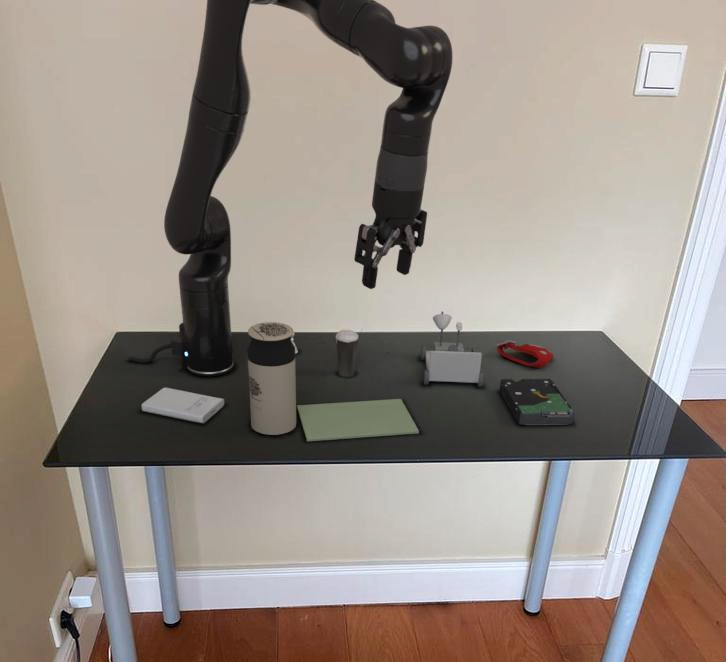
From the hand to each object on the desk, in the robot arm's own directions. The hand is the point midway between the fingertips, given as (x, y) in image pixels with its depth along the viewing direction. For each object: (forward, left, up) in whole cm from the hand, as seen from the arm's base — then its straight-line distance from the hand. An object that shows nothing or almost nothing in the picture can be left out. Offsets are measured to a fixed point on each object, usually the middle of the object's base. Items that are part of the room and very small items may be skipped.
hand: (385, 279), depth 124 cm
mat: (-4, -1, -26) cm, 26 cm away
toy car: (+7, +27, -26) cm, 39 cm away
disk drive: (+26, +16, -26) cm, 40 cm away
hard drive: (-35, -9, -26) cm, 44 cm away
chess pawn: (-27, +23, -26) cm, 44 cm away
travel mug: (-17, -9, -26) cm, 32 cm away
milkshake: (-12, +17, -26) cm, 34 cm away
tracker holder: (+21, +39, -26) cm, 52 cm away
